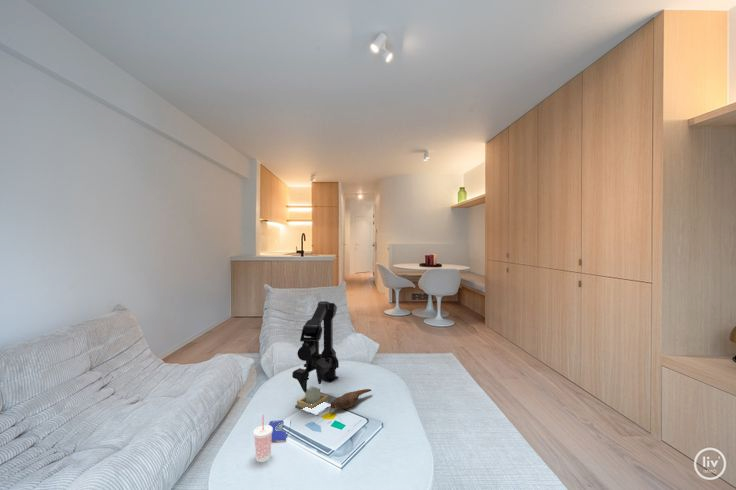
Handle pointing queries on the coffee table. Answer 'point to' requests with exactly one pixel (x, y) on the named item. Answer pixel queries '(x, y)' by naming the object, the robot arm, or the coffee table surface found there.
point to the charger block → (312, 395)
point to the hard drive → (277, 433)
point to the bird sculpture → (347, 399)
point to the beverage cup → (263, 441)
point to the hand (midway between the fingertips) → (312, 388)
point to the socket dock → (323, 398)
